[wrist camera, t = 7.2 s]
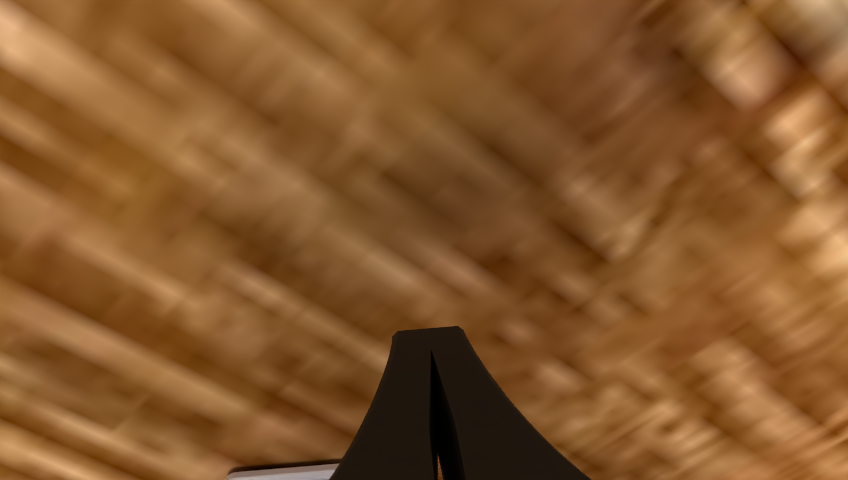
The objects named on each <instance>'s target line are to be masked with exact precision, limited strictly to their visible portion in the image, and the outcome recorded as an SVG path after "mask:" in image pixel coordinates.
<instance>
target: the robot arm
mask: <svg viewBox="0 0 848 480" xmlns="http://www.w3.org/2000/svg"><path fill="white" fill-rule="evenodd" d="M438 457H439V461H440V466H441V471H442V476H443V480H591V479H590V478H589V477H588V476H586V475H585V474H584V473H582V472H581V471H580V470H579V469H577V468H576V467H575V466H574V465H573V464H572V463H571V462H570V461H568V460H567V459H566V458H565V457H564V456H563V455H562V454H560V453H559V452H558V451H557V450H556V449H555V448H554V447H553V446H552V445H551V444H550V443H549V442H548V441H547V440H546V439H545V438H544V437H543V436H542V435H541V434H540V433H539V432H538V431H537V430H536V429H535V428H534V427H533V426H532V425H531V424H530V423H529V422H528V421H527V419H526V418H525V417H524V416H523V415H522V414H521V413H520V411H519V410H518V409H517V408H516V407H515V406H514V405H513V403H512V402H511V401H510V400H509V398H508V397H507V396H506V395H505V393H504V392H503V391H502V390H501V388H500V387H499V386H498V384H497V383H496V382H495V380H494V379H493V378H492V376H491V375H490V374H489V372H488V371H487V369H486V368H485V366H484V365H483V363H482V362H481V360H480V359H479V357H478V356H477V354H476V353H475V351H474V349H473V348H472V346H471V344H470V342H469V341H468V339H467V337H466V335H465V333H464V330H462V329H461V328H460V327H459V326H452V327H440V328H429V329H417V330H405V331H397V332H396V333H395V334H394V335H393V337H392V345H391V350H390V354H389V358H388V361H387V365H386V368H385V371H384V374H383V377H382V379H381V382H380V384H379V387H378V389H377V392H376V394H375V397H374V399H373V401H372V404H371V406H370V408H369V410H368V412H367V414H366V416H365V418H364V420H363V422H362V424H361V426H360V428H359V430H358V432H357V434H356V436H355V438H354V440H353V442H352V443H351V445H350V447H349V449H348V450H347V452H346V454H345V455H344V457H343V459H342V460H341V462H340V463H339V464H327V465H315V466H303V467H291V468H279V469H267V470H255V471H243V472H234V473H231V474H229V475H228V476H227V478H226V480H438Z"/></svg>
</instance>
